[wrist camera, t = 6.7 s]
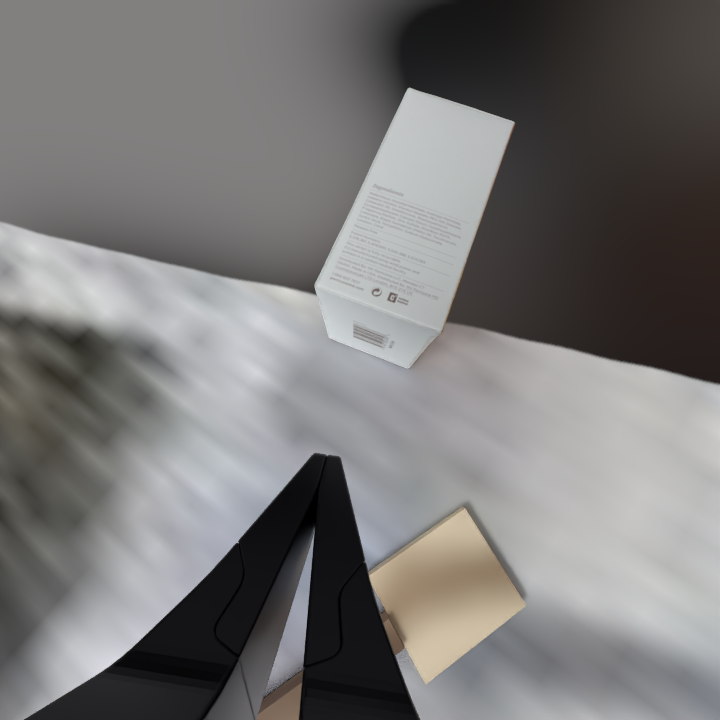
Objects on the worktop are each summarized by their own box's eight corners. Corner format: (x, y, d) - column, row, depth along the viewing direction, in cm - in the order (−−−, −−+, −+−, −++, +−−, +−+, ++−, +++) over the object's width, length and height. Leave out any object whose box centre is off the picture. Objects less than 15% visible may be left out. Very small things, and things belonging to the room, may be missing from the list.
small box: (443, 336, 13) (519, 117, 16) (310, 286, 14) (406, 81, 17) (411, 371, 21) (466, 220, 24) (326, 338, 22) (390, 194, 25)
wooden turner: (520, 600, 18) (530, 609, 17) (279, 788, 16) (274, 811, 15) (461, 506, 19) (467, 509, 18) (229, 668, 17) (221, 682, 16)
